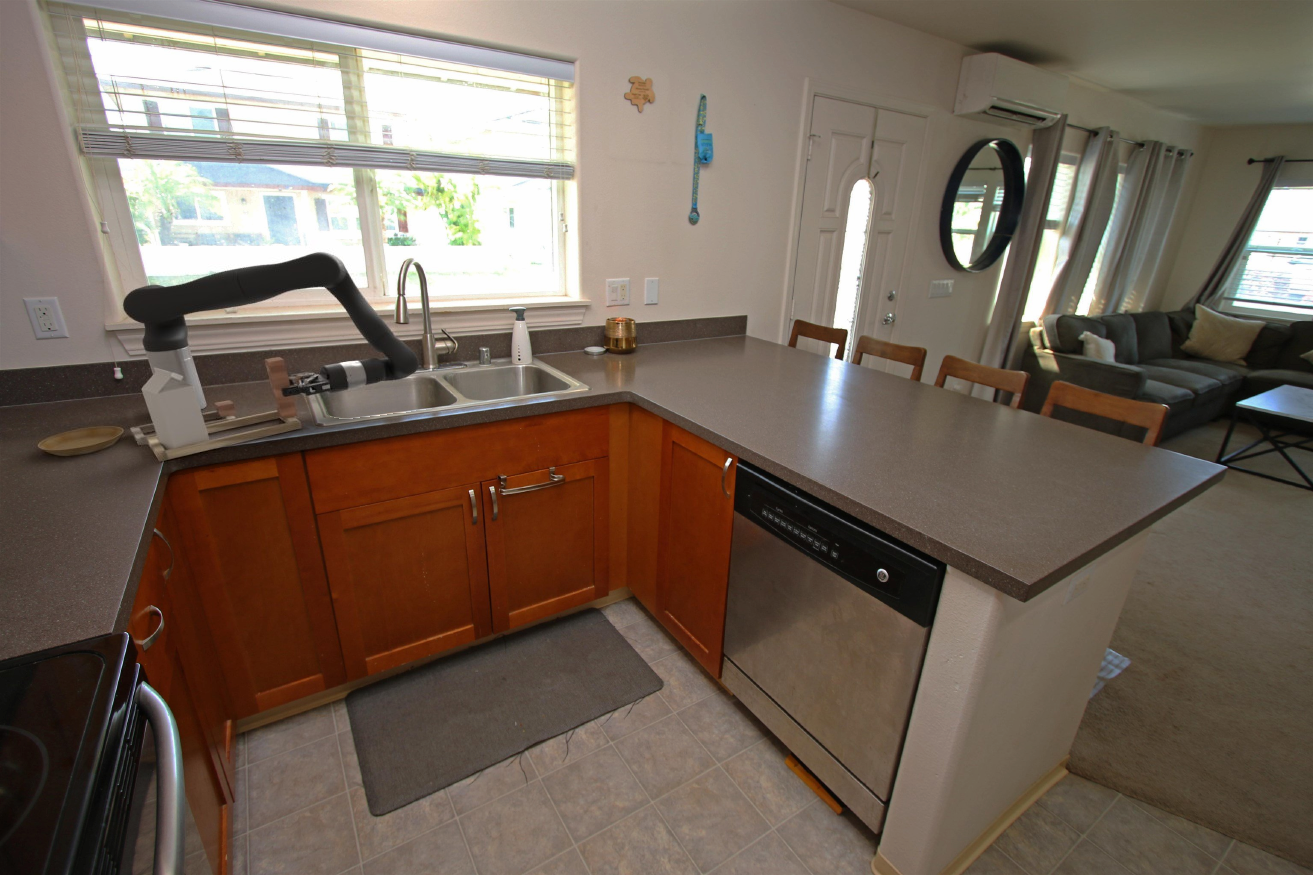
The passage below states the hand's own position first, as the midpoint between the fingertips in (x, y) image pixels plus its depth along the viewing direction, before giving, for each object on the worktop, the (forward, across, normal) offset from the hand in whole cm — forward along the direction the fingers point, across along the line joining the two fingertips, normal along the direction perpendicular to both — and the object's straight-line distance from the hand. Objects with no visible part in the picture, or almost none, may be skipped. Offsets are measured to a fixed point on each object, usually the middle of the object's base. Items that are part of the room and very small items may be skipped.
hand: (277, 389), depth 148 cm
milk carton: (+21, +1, +10) cm, 23 cm away
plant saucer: (+37, -17, +10) cm, 42 cm away
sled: (+12, 0, +9) cm, 15 cm away
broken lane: (+18, -14, +10) cm, 25 cm away
